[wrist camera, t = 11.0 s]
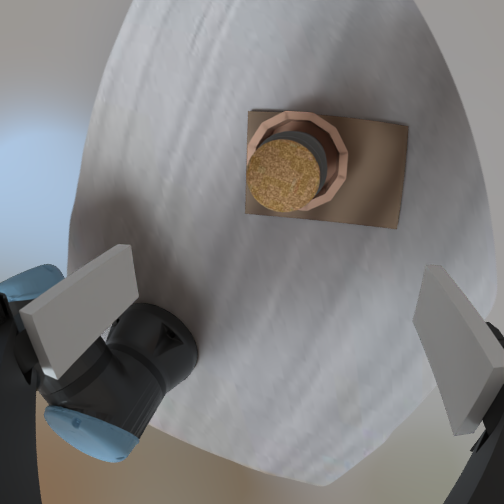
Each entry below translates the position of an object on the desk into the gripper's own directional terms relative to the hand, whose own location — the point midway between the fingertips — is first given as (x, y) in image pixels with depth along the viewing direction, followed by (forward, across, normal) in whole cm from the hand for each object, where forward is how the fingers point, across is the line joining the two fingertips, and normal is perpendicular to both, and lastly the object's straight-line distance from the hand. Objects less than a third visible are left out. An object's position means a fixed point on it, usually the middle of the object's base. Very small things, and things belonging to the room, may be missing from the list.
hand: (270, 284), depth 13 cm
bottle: (+23, 0, +4) cm, 23 cm away
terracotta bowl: (+24, 0, +4) cm, 24 cm away
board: (+25, +3, +3) cm, 25 cm away
